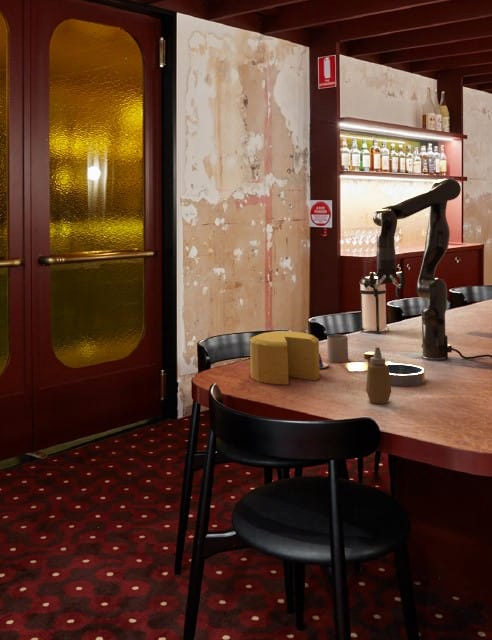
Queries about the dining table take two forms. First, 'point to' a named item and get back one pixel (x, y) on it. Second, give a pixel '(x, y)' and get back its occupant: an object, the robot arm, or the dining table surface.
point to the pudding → (321, 364)
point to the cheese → (284, 357)
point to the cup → (337, 348)
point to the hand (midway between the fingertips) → (387, 297)
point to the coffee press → (373, 306)
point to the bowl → (405, 375)
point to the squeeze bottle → (378, 379)
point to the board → (359, 366)
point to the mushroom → (368, 356)
